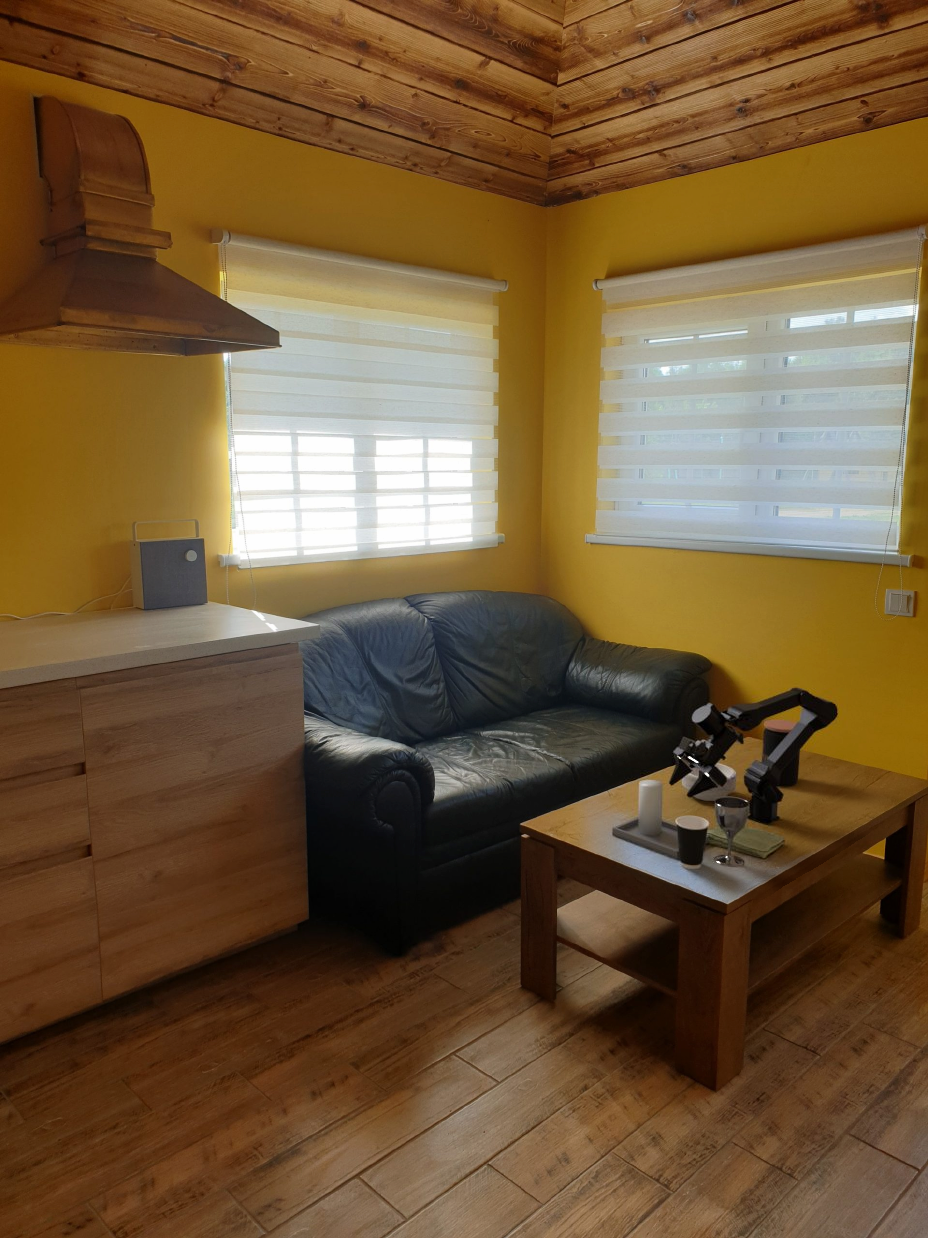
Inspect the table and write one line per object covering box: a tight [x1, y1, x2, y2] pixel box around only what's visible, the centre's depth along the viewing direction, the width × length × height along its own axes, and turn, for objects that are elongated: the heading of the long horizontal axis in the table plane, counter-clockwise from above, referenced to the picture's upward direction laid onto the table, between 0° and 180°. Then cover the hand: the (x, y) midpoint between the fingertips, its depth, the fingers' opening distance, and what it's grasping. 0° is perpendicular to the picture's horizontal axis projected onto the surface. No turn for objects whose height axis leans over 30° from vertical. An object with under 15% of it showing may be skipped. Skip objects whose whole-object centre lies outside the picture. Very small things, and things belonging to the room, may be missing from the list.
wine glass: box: [713, 795, 750, 868], centre depth 225 cm, size 8×8×15 cm
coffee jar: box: [761, 719, 801, 788], centre depth 279 cm, size 11×11×18 cm
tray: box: [611, 816, 709, 860], centre depth 238 cm, size 20×14×2 cm
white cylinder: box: [637, 779, 664, 836], centre depth 241 cm, size 6×6×13 cm
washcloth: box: [707, 824, 786, 859], centre depth 236 cm, size 13×18×3 cm
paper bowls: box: [681, 762, 737, 802], centre depth 268 cm, size 15×15×8 cm
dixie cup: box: [675, 815, 710, 870], centre depth 223 cm, size 8×8×11 cm
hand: (678, 790), depth 242 cm, fingers open, 9 cm apart
